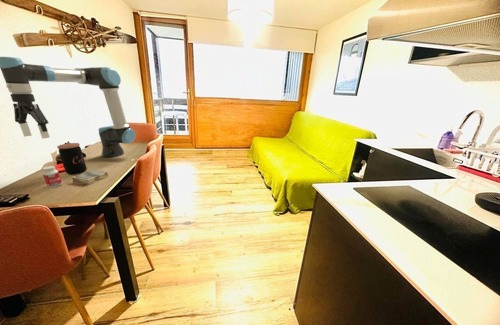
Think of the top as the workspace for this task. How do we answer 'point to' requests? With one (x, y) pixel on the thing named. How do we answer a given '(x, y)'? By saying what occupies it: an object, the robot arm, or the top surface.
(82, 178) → the banknote stack
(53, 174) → the pill bottle
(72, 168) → the coffee jar
